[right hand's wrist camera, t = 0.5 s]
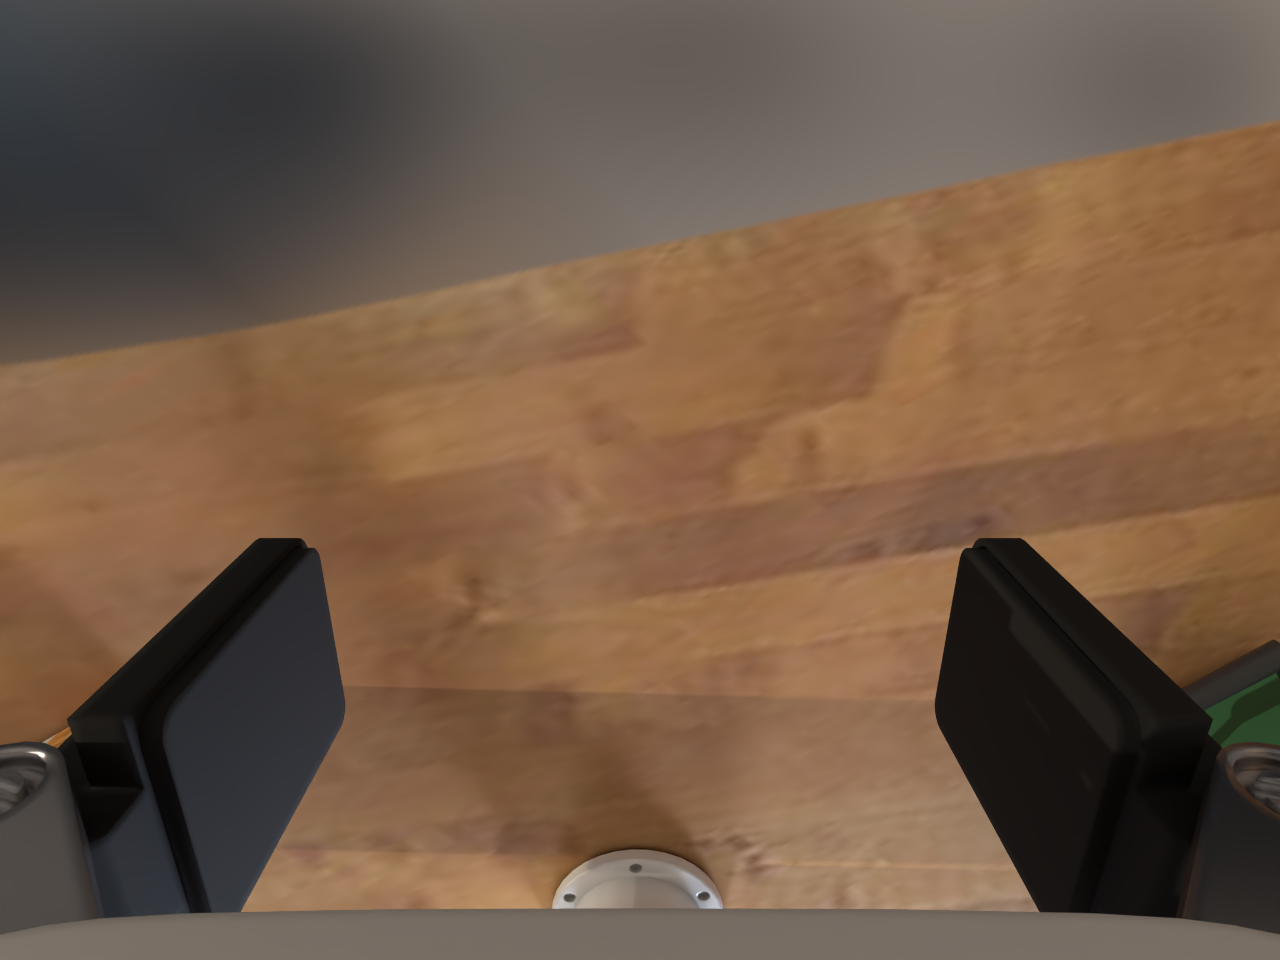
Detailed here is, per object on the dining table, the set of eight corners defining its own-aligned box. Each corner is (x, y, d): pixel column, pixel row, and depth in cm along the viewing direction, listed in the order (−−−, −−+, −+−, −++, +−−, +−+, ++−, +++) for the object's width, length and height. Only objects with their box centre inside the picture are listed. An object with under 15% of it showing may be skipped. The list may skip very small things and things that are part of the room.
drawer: (1077, 677, 48) (1171, 784, 39) (1233, 589, 45) (1368, 683, 37) (1193, 844, 53) (1298, 970, 44) (1338, 773, 50) (1478, 892, 42)
